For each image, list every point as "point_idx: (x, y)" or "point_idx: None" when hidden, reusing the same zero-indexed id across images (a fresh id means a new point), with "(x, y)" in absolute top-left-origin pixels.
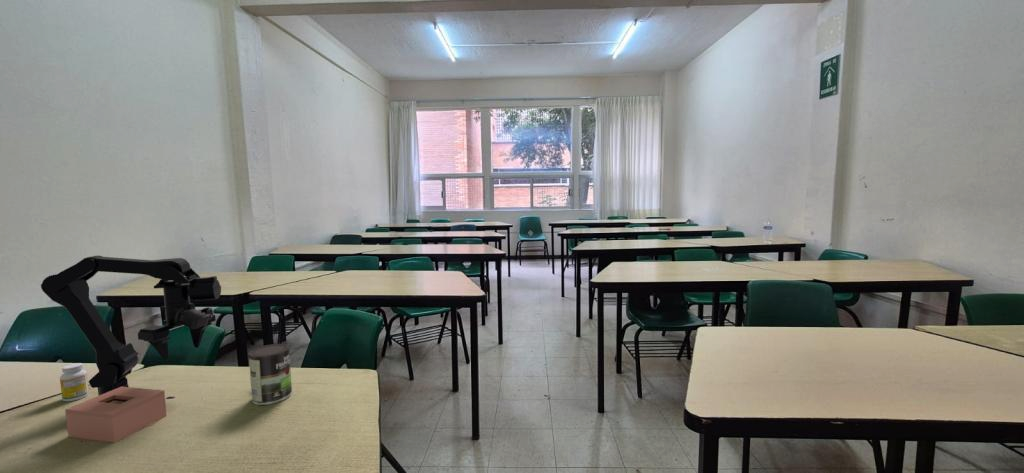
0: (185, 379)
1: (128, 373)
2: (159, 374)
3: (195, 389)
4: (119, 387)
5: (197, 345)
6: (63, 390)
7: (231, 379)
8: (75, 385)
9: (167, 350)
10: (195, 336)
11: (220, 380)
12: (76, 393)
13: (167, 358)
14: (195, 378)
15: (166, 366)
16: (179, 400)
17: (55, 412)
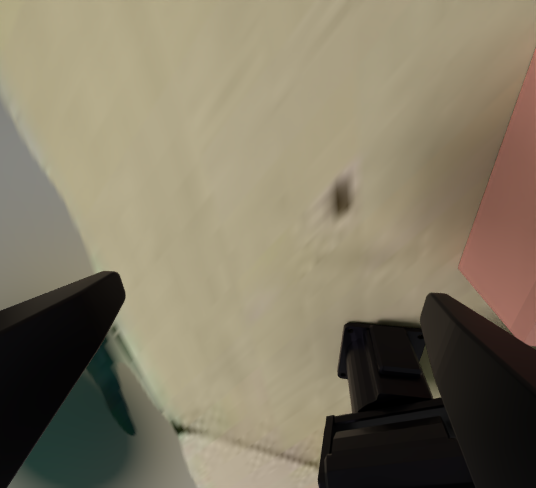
0: (202, 279)
1: (341, 418)
2: (201, 374)
3: (260, 160)
4: (533, 345)
5: (101, 282)
6: None
7: (132, 75)
8: None
9: (524, 366)
10: (14, 389)
11: (160, 126)
12: None
13: (443, 296)
14: (184, 252)
15: (158, 393)
16: (366, 129)
17: None
